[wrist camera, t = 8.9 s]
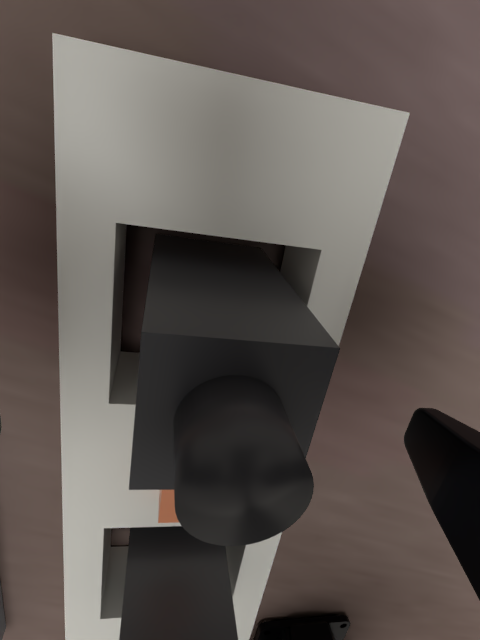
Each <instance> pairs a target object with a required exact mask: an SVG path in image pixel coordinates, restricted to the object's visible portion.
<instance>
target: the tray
mask: <svg viewBox="0 0 480 640" xmlns="http://www.w3.org/2000/svg"><path fill="white" fill-rule="evenodd" d="M5 629H6V623H5V615H4V607H3V599H2V591H1V583H0V640H2V638H3V635H4V632H5Z"/></svg>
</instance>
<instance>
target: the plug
mask: <svg viewBox="0 0 480 640" xmlns="http://www.w3.org/2000/svg"><path fill="white" fill-rule="evenodd" d="M339 350H340V347H339V346H338V345H337V344H336V342H335V341H334V340H333V338H332V337H331V336H330V335H329V333H328V332H327V331H326V330H325V328H324V327H323V326H322V325H321V323H320V322H319V321H318V320H317V318H316V317H315V316H314V315H313V313H312V312H311V311H310V310H309V308H308V307H307V306H306V305H305V303H304V302H303V301H302V299H301V298H300V297H299V296H298V294H297V293H296V292H295V291H294V289H293V288H292V287H291V286H290V284H289V283H288V282H287V281H286V279H285V278H284V277H283V276H282V274H281V273H280V272H279V271H278V269H277V268H276V267H275V265H274V264H273V263H272V262H271V260H270V259H269V258H268V257H267V255H266V254H265V253H264V252H263V250H262V249H261V248H259V247H251V246H244V245H236V244H229V243H222V242H214V241H207V240H200V239H192V238H185V237H177V236H170V235H163V234H155V241H154V248H153V255H152V262H151V269H150V276H149V283H148V290H147V297H146V304H145V311H144V318H143V325H142V332H141V345H140V357H139V369H138V382H137V394H136V406H135V418H134V431H133V443H132V455H131V467H130V480H129V490H174V500H175V513H176V516H177V519H178V521H179V523H180V524H181V526H182V527H183V528H184V529H185V530H186V531H187V532H188V533H189V534H190V535H192V536H194V537H195V538H197V539H199V540H201V541H204V542H207V543H210V544H214V545H220V546H242V545H248V544H253V543H257V542H261V541H263V540H266V539H269V538H271V537H273V536H276V535H277V534H279V533H281V532H283V531H284V530H286V529H287V528H289V527H290V526H291V525H292V524H293V523H295V522H296V521H297V520H298V519H299V518H300V517H301V515H302V514H303V513H304V512H305V510H306V509H307V507H308V505H309V503H310V501H311V498H312V494H313V488H314V483H313V477H312V473H311V471H310V469H309V466H308V464H307V461H306V459H305V458H306V455H307V452H308V449H309V446H310V442H311V439H312V436H313V433H314V430H315V426H316V423H317V420H318V417H319V414H320V411H321V407H322V404H323V401H324V398H325V395H326V391H327V388H328V385H329V382H330V379H331V375H332V372H333V369H334V366H335V363H336V360H337V356H338V353H339Z"/></svg>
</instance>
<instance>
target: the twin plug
mask: <svg viewBox="0 0 480 640" xmlns="http://www.w3.org/2000/svg"><path fill="white" fill-rule="evenodd" d="M119 640H238V635H237V627H236V620H235V613H234V605H233V598H232V590H231V583H230V576H229V568H228V561H227V554H226V546H220V545H214V544H210V543H207V542H204V541H201V540H199V539H197V538H195V537H194V536H192V535H190V534H189V533H188V532H187V531H186V530H185V529H184V528H183V527H182V526H167V527H132V528H130V536H129V546H128V556H127V566H126V576H125V586H124V596H123V606H122V616H121V626H120V637H119Z"/></svg>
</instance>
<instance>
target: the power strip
mask: <svg viewBox="0 0 480 640" xmlns="http://www.w3.org/2000/svg"><path fill="white" fill-rule="evenodd" d="M52 40H53V87H54V134H55V180H56V227H57V274H58V320H59V367H60V414H61V461H62V507H63V554H64V601H65V640H119V637H120V626H121V616H122V606H123V596H124V586H125V576H126V566H127V556H128V546H119V547H111V529H112V528H132V527H167V526H181V524H180V523H179V521H178V519H177V516H176V513H175V500H174V490H129V480H130V467H131V455H132V443H133V431H134V418H135V406H136V394H137V382H138V369H139V357H140V353H137V352H122V351H121V331H122V311H123V292H124V272H125V252H126V232H127V224H128V225H136V226H144V227H151V228H159V229H166V230H174V231H182V232H189V233H197V234H204V235H212V236H219V237H227V238H235V239H242V240H250V241H257V242H265V243H273V244H280V245H286V247H285V251H284V256H283V261H282V265H281V270H280V273H281V274H282V276H283V277H284V278H285V279H286V281H287V282H288V283H289V284H290V286H291V287H292V288H293V289H294V291H295V292H296V293H297V294H298V296H299V297H300V298H301V299H302V301H303V302H304V303H305V305H306V306H307V307H308V308H309V310H310V311H311V312H312V313H313V315H314V316H315V317H316V318H317V320H318V321H319V322H320V323H321V325H322V326H323V327H324V328H325V330H326V331H327V332H328V333H329V335H330V336H331V337H332V338H333V340H334V341H335V342H336V344H337V345H338V346H339V344H340V341H341V337H342V334H343V331H344V327H345V324H346V321H347V318H348V314H349V311H350V308H351V305H352V301H353V298H354V295H355V291H356V288H357V285H358V282H359V278H360V275H361V272H362V268H363V265H364V262H365V259H366V255H367V252H368V249H369V246H370V242H371V239H372V236H373V232H374V229H375V226H376V223H377V219H378V216H379V213H380V209H381V206H382V203H383V200H384V196H385V193H386V190H387V187H388V183H389V180H390V177H391V173H392V170H393V167H394V164H395V160H396V157H397V154H398V150H399V147H400V144H401V141H402V137H403V134H404V131H405V128H406V124H407V121H408V118H409V114H410V113H408V112H403V111H399V110H394V109H390V108H385V107H381V106H376V105H372V104H367V103H363V102H358V101H354V100H350V99H345V98H341V97H336V96H332V95H327V94H323V93H318V92H314V91H309V90H305V89H300V88H296V87H292V86H287V85H283V84H278V83H274V82H269V81H265V80H260V79H256V78H251V77H247V76H242V75H238V74H234V73H229V72H225V71H220V70H216V69H211V68H207V67H202V66H198V65H193V64H189V63H184V62H180V61H176V60H171V59H167V58H162V57H158V56H153V55H149V54H144V53H140V52H135V51H131V50H126V49H122V48H118V47H113V46H109V45H104V44H100V43H95V42H91V41H86V40H82V39H77V38H73V37H68V36H64V35H60V34H55V33H52ZM281 534H282V532H281V533H279V534H277V535H276V536H273V537H271V538H269V539H266V540H263V541H261V542H257V543H253V544H248V545H242V546H226V554H227V561H228V568H229V576H230V583H231V590H232V598H233V605H234V613H235V620H236V627H237V635H238V640H249V639H250V636H251V632H252V629H253V626H254V622H255V619H256V616H257V613H258V609H259V606H260V603H261V600H262V596H263V593H264V590H265V586H266V583H267V580H268V577H269V573H270V570H271V567H272V563H273V560H274V557H275V554H276V550H277V547H278V544H279V541H280V537H281Z"/></svg>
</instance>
